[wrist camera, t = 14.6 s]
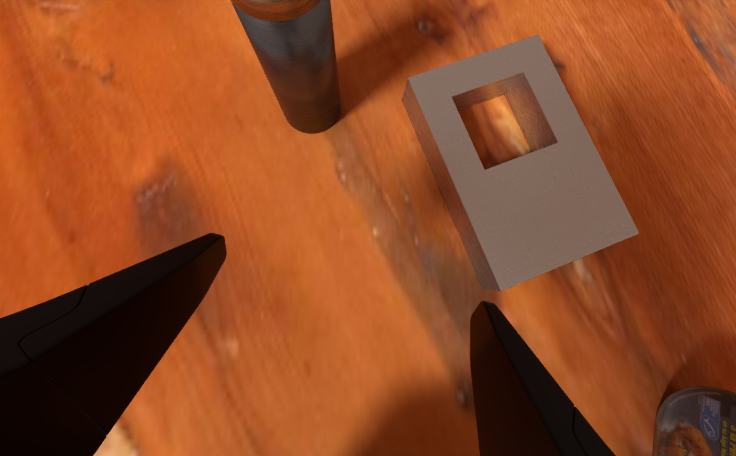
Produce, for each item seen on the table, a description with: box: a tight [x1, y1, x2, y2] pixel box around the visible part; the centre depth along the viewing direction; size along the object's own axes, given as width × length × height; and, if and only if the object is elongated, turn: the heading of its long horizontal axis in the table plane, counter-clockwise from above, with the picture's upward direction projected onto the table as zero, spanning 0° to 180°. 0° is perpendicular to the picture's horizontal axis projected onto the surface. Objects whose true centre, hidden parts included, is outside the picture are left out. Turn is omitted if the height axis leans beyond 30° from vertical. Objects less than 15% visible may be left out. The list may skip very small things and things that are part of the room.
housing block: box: [402, 35, 639, 291], centre depth 24 cm, size 12×18×3 cm, turn 21°
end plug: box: [231, 0, 341, 134], centre depth 19 cm, size 5×5×13 cm
